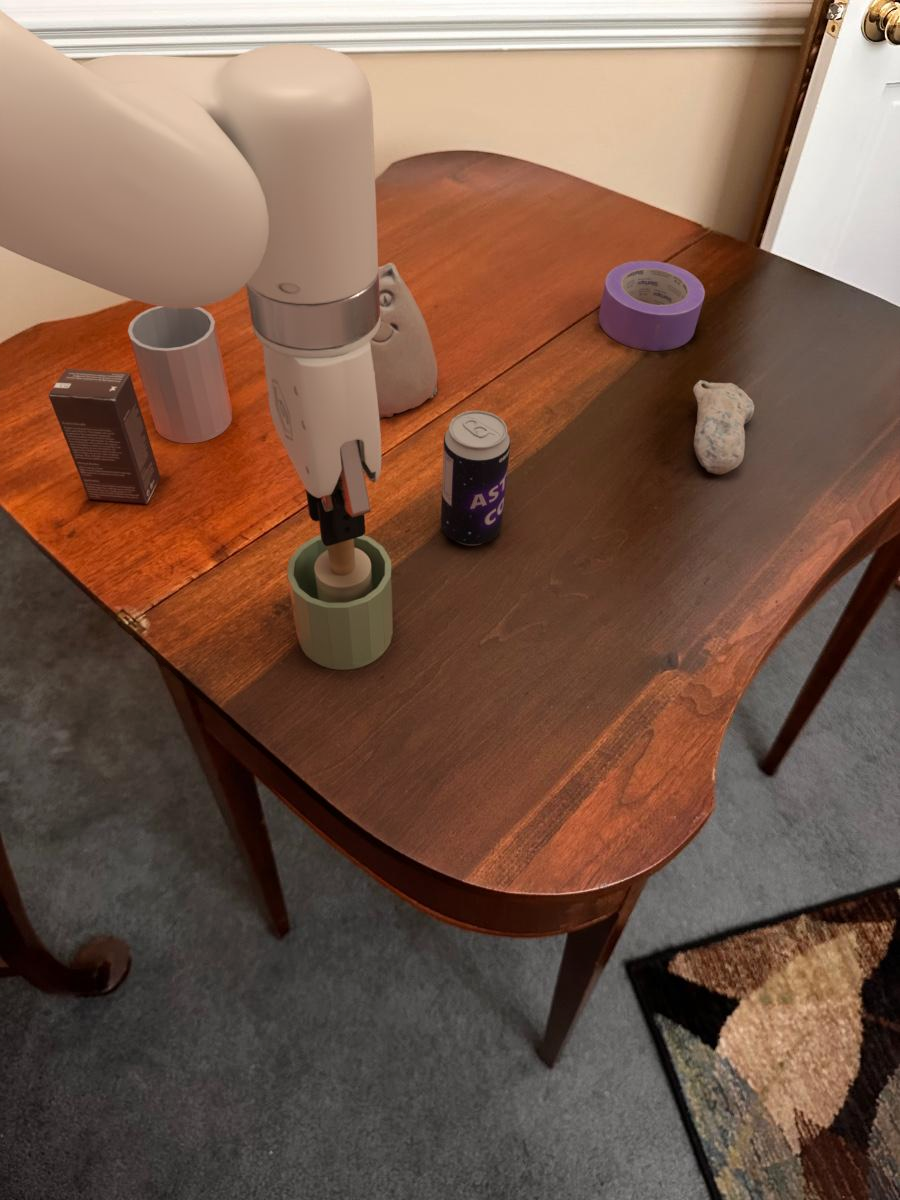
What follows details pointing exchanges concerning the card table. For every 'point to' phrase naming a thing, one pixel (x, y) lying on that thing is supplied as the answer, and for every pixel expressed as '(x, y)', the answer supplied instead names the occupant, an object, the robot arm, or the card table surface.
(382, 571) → the brush holder
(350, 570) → the bottle brush
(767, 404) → the card table surface
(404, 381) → the sculpture
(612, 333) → the tape roll
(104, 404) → the box
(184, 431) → the steel cup
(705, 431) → the decorative stone
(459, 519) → the beverage can
